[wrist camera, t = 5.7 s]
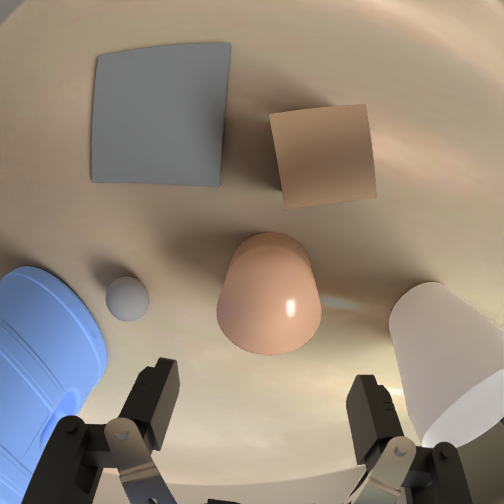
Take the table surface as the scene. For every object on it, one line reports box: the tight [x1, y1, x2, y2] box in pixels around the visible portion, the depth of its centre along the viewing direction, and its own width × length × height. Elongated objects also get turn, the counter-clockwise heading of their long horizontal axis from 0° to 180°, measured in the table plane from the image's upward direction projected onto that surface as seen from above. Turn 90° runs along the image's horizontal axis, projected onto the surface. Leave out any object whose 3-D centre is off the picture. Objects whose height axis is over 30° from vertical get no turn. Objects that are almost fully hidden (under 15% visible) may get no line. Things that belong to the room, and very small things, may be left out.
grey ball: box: [106, 277, 149, 321], centre depth 22 cm, size 4×4×4 cm
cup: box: [389, 282, 504, 448], centre depth 17 cm, size 9×9×12 cm
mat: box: [92, 43, 231, 187], centre depth 18 cm, size 10×10×1 cm
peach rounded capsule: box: [217, 232, 322, 355], centre depth 19 cm, size 6×6×6 cm
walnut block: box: [269, 104, 377, 210], centre depth 16 cm, size 5×5×5 cm
